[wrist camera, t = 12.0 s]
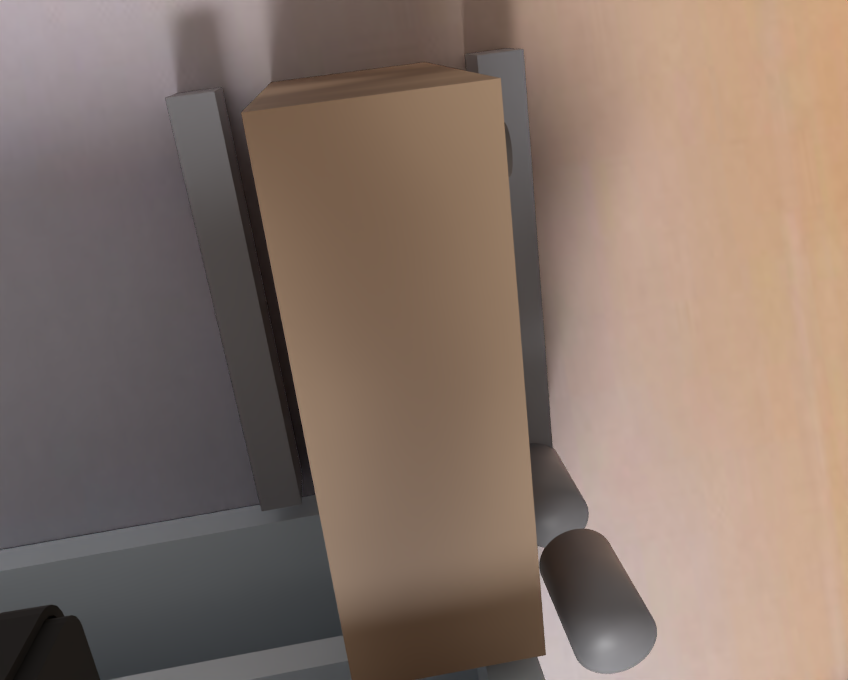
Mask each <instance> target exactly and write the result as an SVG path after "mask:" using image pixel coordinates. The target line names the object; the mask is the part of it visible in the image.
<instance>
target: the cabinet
mask: <svg viewBox="0 0 848 680" xmlns="http://www.w3.org/2000/svg"><path fill="white" fill-rule="evenodd" d="M465 63H466V71H469V72H474V73H479V74H483V75H488V76H493V77H498V78H501V87H502V100H503V113H504V122H505V123H506V125H507V127H508V130H509V134H510V139H511V145H512V156H513V167H512V174H511V176H510V177H509V190H510V203H511V215H512V228H513V241H514V254H515V267H516V280H517V292H518V305H519V318H520V331H521V344H522V357H523V369H524V382H525V395H526V408H527V421H528V434H529V447H530V459H531V472H532V485H533V498H534V511H535V524H536V536H537V546H540V547H545V549H544V550H543V552H542V555H541V558H540V563H539V568H540V573H541V576H542V578H543V580H544V583H545V585H546V587H547V590H548V592H549V595H550V597H551V599H552V602H553V604H554V606H555V609H556V611H557V614H558V616H559V618H560V621H561V623H562V626H563V628H564V630H565V633H566V635H567V637H568V640H569V642H570V645H571V647H572V649H573V652H574V654H575V656H576V658H577V660H578V661H579V663H580V664H581V665H582V666H583V667H585V668H586V669H588V670H590V671H593V672H596V673H601V674H612V673H618V672H622V671H625V670H628V669H630V668H632V667H634V666H635V665H637V664H638V663H640V662H641V661H642V660H643V659H644V658H645V657H646V656H647V655H648V654H649V653H650V651H651V650H652V648H653V646H654V644H655V641H656V637H657V627H656V624H655V621H654V619H653V617H652V616H651V614H650V612H649V610H648V609H647V607H646V605H645V604H644V602H643V600H642V598H641V597H640V595H639V593H638V592H637V590H636V588H635V586H634V585H633V583H632V581H631V580H630V578H629V576H628V574H627V573H626V571H625V569H624V568H623V566H622V564H621V562H620V561H619V559H618V557H617V555H616V554H615V552H614V550H613V549H612V547H611V545H610V543H609V542H608V540H607V539H606V538H605V537H604V536H603V535H601V534H600V533H598V532H596V531H593V530H590V529H584V528H585V527H586V524H587V521H588V514H589V512H588V507H587V504H586V502H585V500H584V499H583V497H582V495H581V494H580V492H579V490H578V488H577V487H576V485H575V483H574V482H573V480H572V478H571V476H570V475H569V473H568V471H567V470H566V468H565V466H564V464H563V463H562V461H561V459H560V457H559V456H558V454H557V452H556V451H555V449H554V448H553V447H552V434H551V420H550V407H549V393H548V379H547V365H546V352H545V338H544V324H543V311H542V297H541V283H540V269H539V256H538V242H537V228H536V215H535V201H534V187H533V173H532V160H531V146H530V132H529V119H528V105H527V91H526V78H525V64H524V50H523V49H512V48H506V49H498V50H491V51H484V52H476V53H469V54H465ZM165 100H166V104H167V109H168V113H169V117H170V122H171V126H172V130H173V134H174V139H175V143H176V147H177V152H178V156H179V160H180V164H181V169H182V173H183V177H184V181H185V186H186V190H187V194H188V199H189V203H190V207H191V211H192V216H193V220H194V224H195V228H196V233H197V237H198V241H199V246H200V250H201V254H202V258H203V263H204V267H205V271H206V275H207V280H208V284H209V288H210V293H211V297H212V301H213V305H214V310H215V314H216V318H217V323H218V327H219V331H220V335H221V340H222V344H223V348H224V352H225V357H226V361H227V365H228V370H229V374H230V378H231V382H232V387H233V391H234V395H235V399H236V404H237V408H238V412H239V417H240V421H241V425H242V429H243V434H244V438H245V442H246V446H247V451H248V455H249V459H250V464H251V468H252V472H253V476H254V481H255V485H256V489H257V493H258V498H259V502H260V505H255V506H249V507H243V508H237V509H232V510H226V511H220V512H215V513H209V514H203V515H198V516H192V517H186V518H180V519H175V520H169V521H163V522H158V523H152V524H146V525H141V526H135V527H129V528H123V529H118V530H112V531H106V532H101V533H95V534H89V535H83V536H78V537H72V538H66V539H61V540H55V541H49V542H44V543H38V544H32V545H26V546H21V547H15V548H9V549H4V550H0V613H2V612H8V611H14V610H20V609H26V608H32V607H39V606H45V605H51V604H52V605H56V606H58V607H59V608H60V609H61V611H62V612H63V614H64V616H70V615H73V616H76V617H77V618H78V619H79V620H80V622H81V624H82V626H83V629H84V632H85V635H86V638H87V641H88V644H89V647H90V650H91V653H92V656H93V659H94V662H95V665H96V668H97V671H98V674H99V677H100V680H352V679H351V674H350V669H349V664H348V659H347V654H346V648H345V643H344V638H343V633H342V628H341V623H340V618H339V612H338V607H337V602H336V597H335V592H334V587H333V582H332V577H331V571H330V566H329V561H328V556H327V551H326V546H325V541H324V536H323V530H322V525H321V520H320V515H319V510H318V505H317V500H316V495H312V496H306V497H302V470H301V465H300V460H299V455H298V450H297V446H296V441H295V436H294V431H293V426H292V421H291V417H290V412H289V407H288V402H287V397H286V393H285V388H284V383H283V378H282V373H281V368H280V364H279V359H278V354H277V349H276V344H275V339H274V335H273V330H272V325H271V320H270V315H269V311H268V306H267V301H266V296H265V291H264V286H263V282H262V277H261V272H260V267H259V262H258V258H257V253H256V248H255V243H254V238H253V233H252V229H251V224H250V219H249V214H248V209H247V205H246V200H245V195H244V190H243V185H242V180H241V176H240V171H239V166H238V161H237V156H236V152H235V147H234V142H233V137H232V132H231V127H230V123H229V118H228V113H227V108H226V103H225V99H224V94H223V89H222V87H220V88H213V89H205V90H198V91H191V92H183V93H177V94H174V95H172V96H169V97H167V98H165ZM417 680H545V678H544V675H543V672H542V669H541V666H540V664H539V661H538V658H537V657H532V658H527V659H522V660H517V661H511V662H506V663H501V664H496V665H490V666H485V667H480V668H475V669H469V670H464V671H459V672H454V673H448V674H443V675H438V676H432V677H427V678H422V679H417Z"/></svg>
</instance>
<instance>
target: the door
mask: <svg viewBox="0 0 848 680" xmlns="http://www.w3.org/2000/svg"><path fill="white" fill-rule="evenodd" d="M241 115H242V120H243V125H244V130H245V135H246V140H247V146H248V151H249V156H250V161H251V166H252V171H253V176H254V182H255V187H256V192H257V197H258V202H259V207H260V212H261V217H262V223H263V228H264V233H265V238H266V243H267V248H268V253H269V258H270V264H271V269H272V274H273V279H274V284H275V289H276V294H277V300H278V305H279V310H280V315H281V320H282V325H283V330H284V335H285V341H286V346H287V351H288V356H289V361H290V366H291V371H292V376H293V382H294V387H295V392H296V397H297V402H298V407H299V412H300V418H301V423H302V428H303V433H304V438H305V443H306V448H307V453H308V459H309V464H310V469H311V474H312V479H313V484H314V489H315V494H316V500H317V505H318V510H319V515H320V520H321V525H322V530H323V536H324V541H325V546H326V551H327V556H328V561H329V566H330V571H331V577H332V582H333V587H334V592H335V597H336V602H337V607H338V612H339V618H340V623H341V628H342V633H343V638H344V643H345V648H346V654H347V659H348V664H349V669H350V674H351V679H352V680H417V679H422V678H427V677H432V676H438V675H443V674H448V673H454V672H459V671H464V670H469V669H475V668H480V667H485V666H490V665H496V664H501V663H506V662H511V661H517V660H522V659H527V658H532V657H538V656H543V655H546V652H545V639H544V626H543V613H542V601H541V588H540V575H539V562H538V549H537V536H536V524H535V511H534V498H533V485H532V472H531V459H530V447H529V434H528V421H527V408H526V395H525V382H524V369H523V357H522V344H521V331H520V318H519V305H518V292H517V280H516V267H515V254H514V241H513V228H512V215H511V203H510V190H509V177H510V176H511V174H512V167H513V156H512V145H511V139H510V134H509V130H508V127H507V125H506V123H505V122H504V113H503V100H502V87H501V78H498V77H493V76H488V75H483V74H479V73H474V72H469V71H465V70H460V69H455V68H450V67H446V66H441V65H436V64H432V63H427V62H422V63H414V64H407V65H399V66H391V67H384V68H376V69H368V70H361V71H353V72H345V73H337V74H330V75H322V76H314V77H307V78H299V79H291V80H283V81H276V82H271V83H270V84H269V85H268V86H267V87H266V88H265V89H264V90H263V91H262V92H261V93H260V94H259V95H258V96H257V97H256V98H255V99H254V100H253V101H252V102H251V103H250V104H249V105H248V106H247V107H246V108H245V109H244V110H243V111H242V112H241Z"/></svg>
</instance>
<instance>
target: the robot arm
mask: <svg viewBox="0 0 848 680" xmlns="http://www.w3.org/2000/svg"><path fill="white" fill-rule="evenodd" d="M0 680H100V677H99V674H98V671H97V668H96V665H95V662H94V659H93V656H92V653H91V650H90V647H89V644H88V641H87V638H86V635H85V632H84V629H83V626H82V624H81V622H80V620H79V619H78V618H77V617H76V616H73V615H70V616H64V614H63V612H62V611H61V609H60V608H59V607H58V606H56V605H52V604H51V605H45V606H39V607H32V608H26V609H20V610H14V611H8V612H2V613H0Z"/></svg>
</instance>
